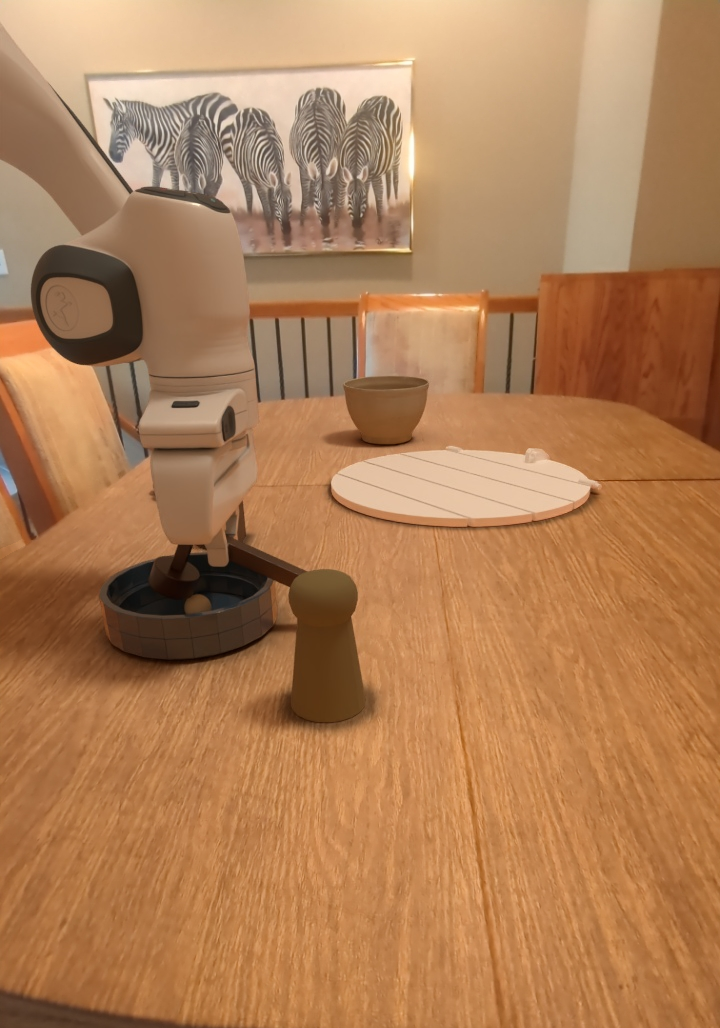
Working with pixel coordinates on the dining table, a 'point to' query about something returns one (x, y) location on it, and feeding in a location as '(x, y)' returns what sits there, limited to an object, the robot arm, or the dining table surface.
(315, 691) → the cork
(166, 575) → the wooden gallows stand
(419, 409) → the planter bowl
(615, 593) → the dining table surface
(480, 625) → the dining table surface
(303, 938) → the dining table surface
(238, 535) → the dark brown upright block
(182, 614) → the bowl
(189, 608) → the dough ball
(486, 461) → the lazy susan
